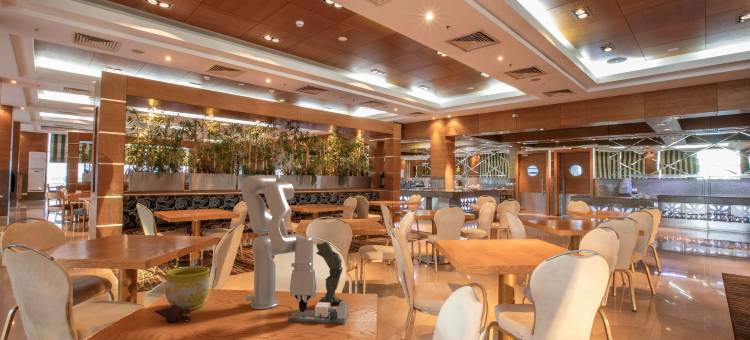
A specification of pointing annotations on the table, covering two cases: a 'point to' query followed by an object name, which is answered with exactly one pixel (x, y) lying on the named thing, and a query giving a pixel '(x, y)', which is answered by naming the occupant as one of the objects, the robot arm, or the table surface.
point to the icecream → (174, 313)
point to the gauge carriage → (323, 309)
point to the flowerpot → (187, 286)
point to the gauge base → (332, 318)
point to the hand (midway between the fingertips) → (302, 310)
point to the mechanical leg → (331, 272)
